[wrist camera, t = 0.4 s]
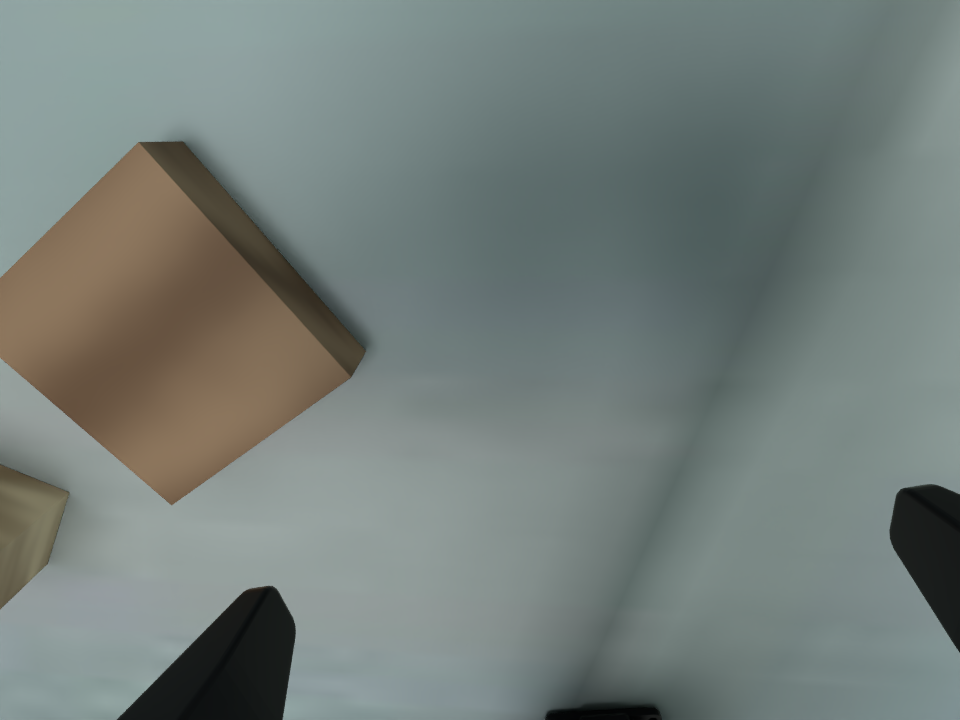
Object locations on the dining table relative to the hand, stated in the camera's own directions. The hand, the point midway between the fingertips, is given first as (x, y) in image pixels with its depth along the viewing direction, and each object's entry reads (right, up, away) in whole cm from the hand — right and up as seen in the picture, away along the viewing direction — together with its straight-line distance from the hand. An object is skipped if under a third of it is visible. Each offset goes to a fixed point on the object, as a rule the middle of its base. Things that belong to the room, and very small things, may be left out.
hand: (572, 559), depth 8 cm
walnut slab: (-13, +4, +14) cm, 20 cm away
